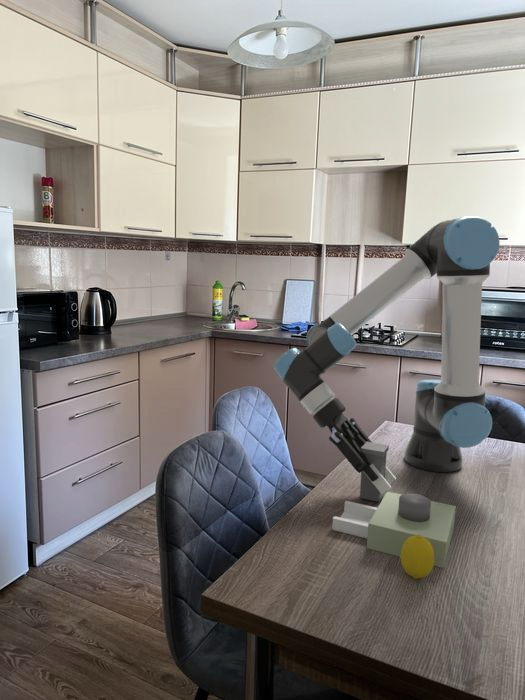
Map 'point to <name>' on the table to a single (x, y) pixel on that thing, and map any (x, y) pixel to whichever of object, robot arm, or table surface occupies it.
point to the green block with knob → (400, 523)
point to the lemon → (417, 556)
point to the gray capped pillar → (378, 458)
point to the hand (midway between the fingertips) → (389, 486)
